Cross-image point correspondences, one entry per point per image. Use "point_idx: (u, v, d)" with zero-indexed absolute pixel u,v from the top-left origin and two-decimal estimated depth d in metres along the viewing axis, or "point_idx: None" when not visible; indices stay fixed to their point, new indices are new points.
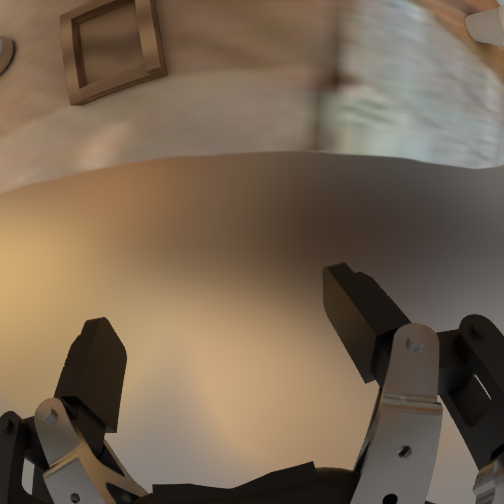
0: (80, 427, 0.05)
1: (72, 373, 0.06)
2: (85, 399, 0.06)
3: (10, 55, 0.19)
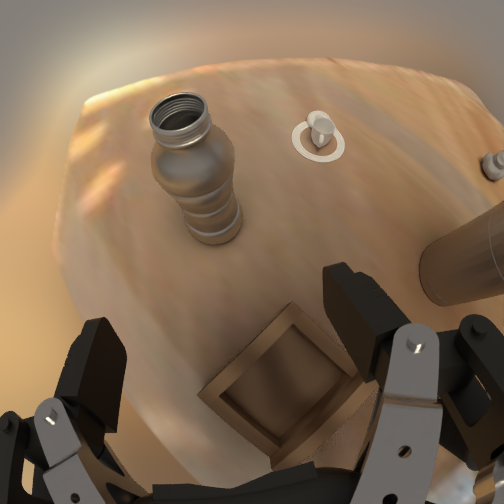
0: (80, 427, 0.05)
1: (72, 373, 0.06)
2: (85, 399, 0.06)
3: None
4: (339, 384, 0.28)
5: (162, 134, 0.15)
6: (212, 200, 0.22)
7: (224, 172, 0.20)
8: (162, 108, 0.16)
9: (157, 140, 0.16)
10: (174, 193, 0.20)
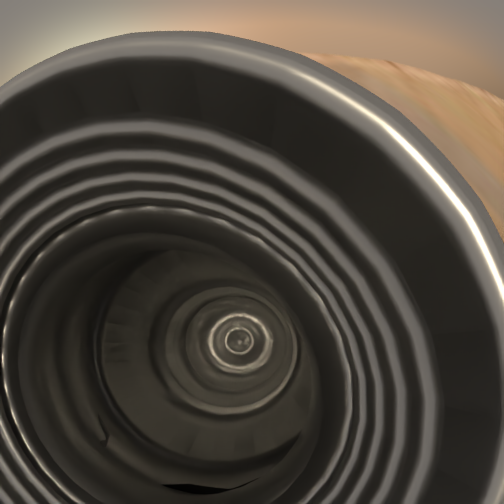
0: None
1: None
2: None
3: (251, 384, 0.17)
4: None
5: None
6: None
7: None
8: None
9: (17, 470, 0.01)
10: (160, 465, 0.05)
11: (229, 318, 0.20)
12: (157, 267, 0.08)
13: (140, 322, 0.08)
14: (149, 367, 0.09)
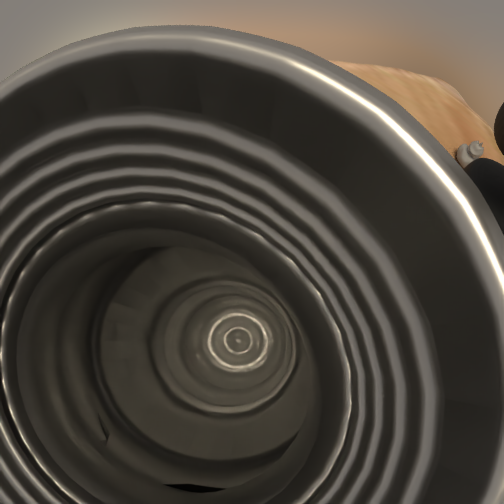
0: None
1: None
2: None
3: (250, 383, 0.17)
4: None
5: None
6: None
7: None
8: None
9: (14, 466, 0.01)
10: None
11: (228, 318, 0.20)
12: (156, 266, 0.08)
13: (139, 320, 0.08)
14: (148, 366, 0.09)
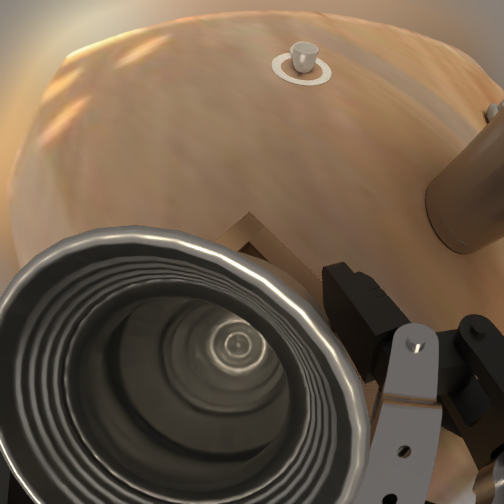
0: None
1: None
2: None
3: (249, 385, 0.18)
4: None
5: None
6: None
7: None
8: (47, 310, 0.02)
9: None
10: None
11: (229, 323, 0.21)
12: None
13: (151, 332, 0.10)
14: (158, 371, 0.10)
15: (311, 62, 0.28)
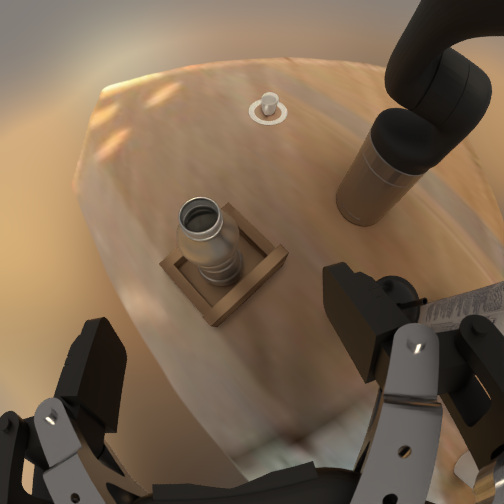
0: (80, 427, 0.05)
1: (72, 373, 0.06)
2: (85, 399, 0.06)
3: None
4: None
5: (188, 233, 0.23)
6: (221, 266, 0.31)
7: (231, 251, 0.28)
8: (187, 207, 0.25)
9: (184, 233, 0.25)
10: (194, 263, 0.28)
11: None
12: (196, 220, 0.31)
13: None
14: None
15: (272, 109, 0.50)
